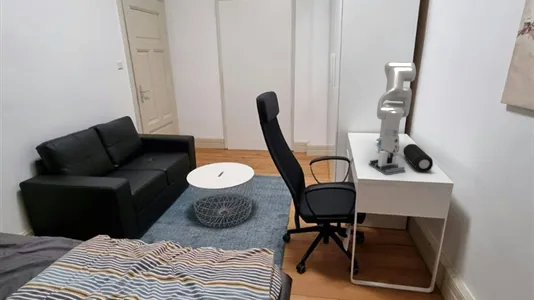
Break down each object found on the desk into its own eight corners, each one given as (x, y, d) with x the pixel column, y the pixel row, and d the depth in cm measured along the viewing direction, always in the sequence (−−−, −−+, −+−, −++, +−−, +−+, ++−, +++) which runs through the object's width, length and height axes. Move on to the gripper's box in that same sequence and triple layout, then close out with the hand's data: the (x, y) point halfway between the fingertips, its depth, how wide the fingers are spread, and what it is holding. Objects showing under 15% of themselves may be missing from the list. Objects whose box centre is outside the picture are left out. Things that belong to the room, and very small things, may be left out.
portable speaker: (432, 173, 165) (436, 157, 161) (414, 172, 166) (417, 156, 163) (417, 157, 189) (419, 142, 185) (401, 157, 190) (403, 142, 187)
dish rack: (368, 164, 177) (369, 160, 176) (386, 162, 181) (387, 157, 180) (385, 175, 163) (386, 170, 162) (405, 172, 167) (405, 167, 166)
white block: (392, 163, 174) (394, 149, 171) (395, 165, 171) (397, 150, 168) (377, 165, 171) (379, 151, 168) (381, 167, 169) (383, 152, 166)
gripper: (407, 135, 158) (402, 166, 164) (387, 127, 173) (383, 156, 179) (395, 136, 156) (391, 168, 162) (376, 128, 171) (372, 158, 177)
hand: (387, 161), depth 171 cm, fingers closed on white block, 3 cm apart
